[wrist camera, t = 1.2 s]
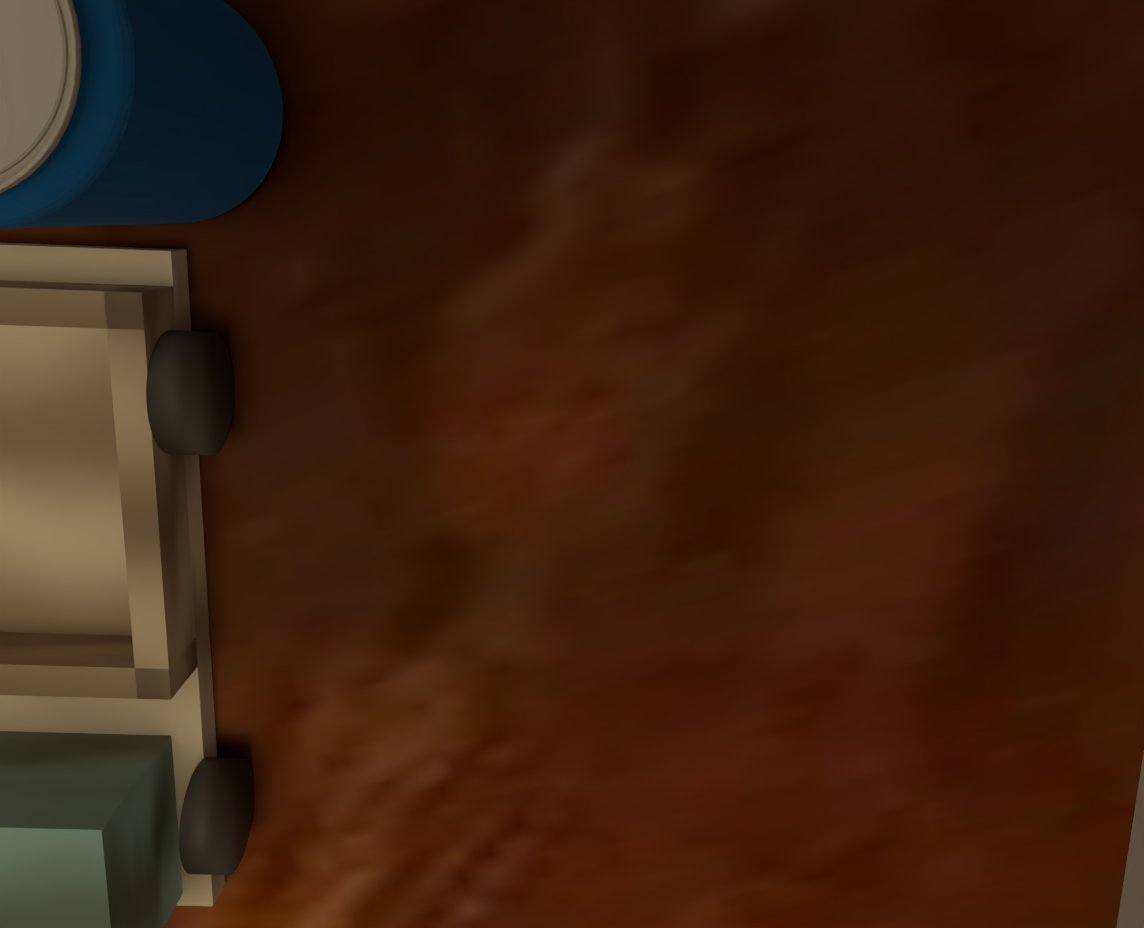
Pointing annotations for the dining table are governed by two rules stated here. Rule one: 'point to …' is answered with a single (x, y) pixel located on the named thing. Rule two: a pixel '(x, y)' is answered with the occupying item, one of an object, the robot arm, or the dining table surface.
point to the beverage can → (131, 111)
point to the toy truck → (108, 594)
